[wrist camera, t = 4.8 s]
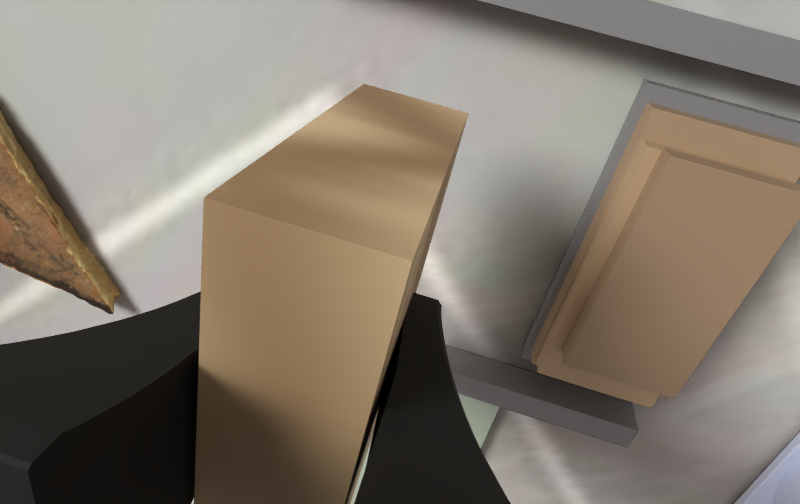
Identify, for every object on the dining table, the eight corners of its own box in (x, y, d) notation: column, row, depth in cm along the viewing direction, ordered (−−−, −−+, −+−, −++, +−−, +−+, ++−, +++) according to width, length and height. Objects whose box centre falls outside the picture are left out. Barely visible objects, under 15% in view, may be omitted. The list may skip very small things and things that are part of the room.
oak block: (468, 113, 12) (411, 260, 6) (386, 390, 16) (307, 636, 10) (364, 83, 12) (204, 197, 6) (311, 366, 17) (190, 593, 10)
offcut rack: (854, 55, 14) (927, 73, 12) (620, 419, 22) (634, 479, 19) (310, -87, 15) (268, -99, 13) (265, 307, 23) (233, 349, 20)
